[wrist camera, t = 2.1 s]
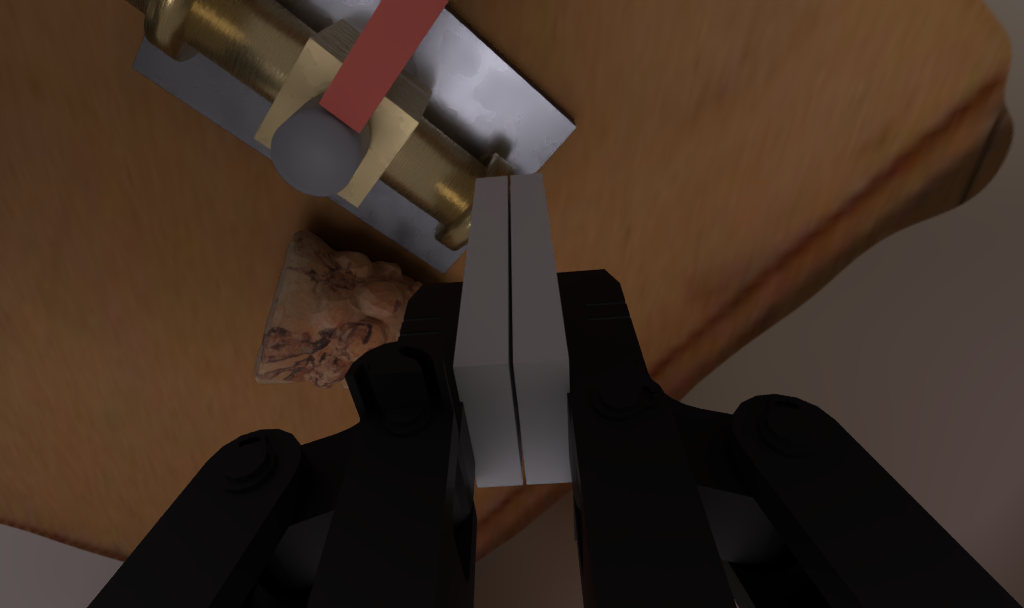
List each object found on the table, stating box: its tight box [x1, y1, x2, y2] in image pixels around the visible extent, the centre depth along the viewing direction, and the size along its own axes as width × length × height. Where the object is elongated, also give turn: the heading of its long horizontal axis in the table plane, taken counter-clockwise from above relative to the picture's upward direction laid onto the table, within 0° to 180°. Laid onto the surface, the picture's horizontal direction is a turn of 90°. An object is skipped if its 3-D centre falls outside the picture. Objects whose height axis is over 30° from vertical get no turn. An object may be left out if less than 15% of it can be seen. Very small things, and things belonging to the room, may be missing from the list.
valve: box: [125, 0, 576, 274], centre depth 29 cm, size 22×14×8 cm, turn 50°
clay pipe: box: [254, 230, 424, 389], centre depth 39 cm, size 19×11×15 cm
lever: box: [271, 0, 449, 196], centre depth 22 cm, size 4×16×4 cm, turn 140°
